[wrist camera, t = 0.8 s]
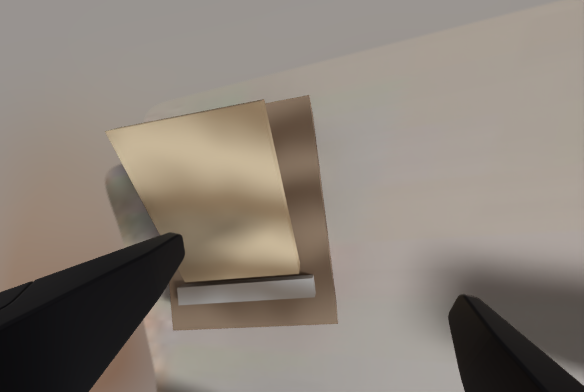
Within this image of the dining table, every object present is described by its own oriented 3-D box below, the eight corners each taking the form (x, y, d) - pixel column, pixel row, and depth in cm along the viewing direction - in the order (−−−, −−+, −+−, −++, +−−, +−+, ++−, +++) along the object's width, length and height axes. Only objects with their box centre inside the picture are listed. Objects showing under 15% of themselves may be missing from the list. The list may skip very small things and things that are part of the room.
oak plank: (300, 263, 20) (299, 273, 19) (191, 271, 21) (184, 282, 20) (264, 99, 14) (260, 101, 13) (118, 127, 16) (104, 131, 14)
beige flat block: (336, 301, 24) (338, 330, 18) (199, 309, 26) (165, 336, 21) (312, 114, 25) (308, 89, 20) (184, 137, 27) (148, 120, 22)
